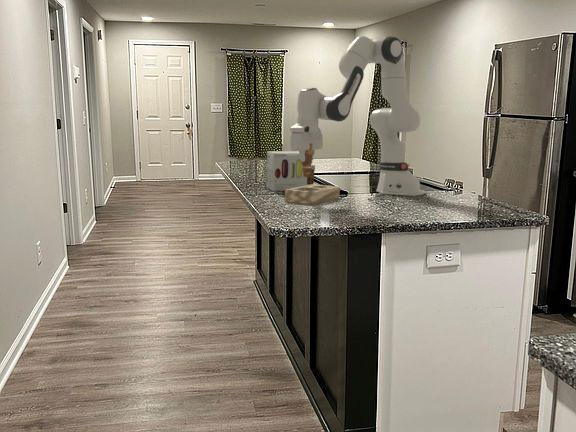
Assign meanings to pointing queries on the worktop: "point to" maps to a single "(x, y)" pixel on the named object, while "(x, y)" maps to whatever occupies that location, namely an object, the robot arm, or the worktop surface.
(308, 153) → the peg
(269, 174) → the supplement box
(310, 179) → the food container
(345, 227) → the worktop surface
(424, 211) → the worktop surface
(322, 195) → the board
